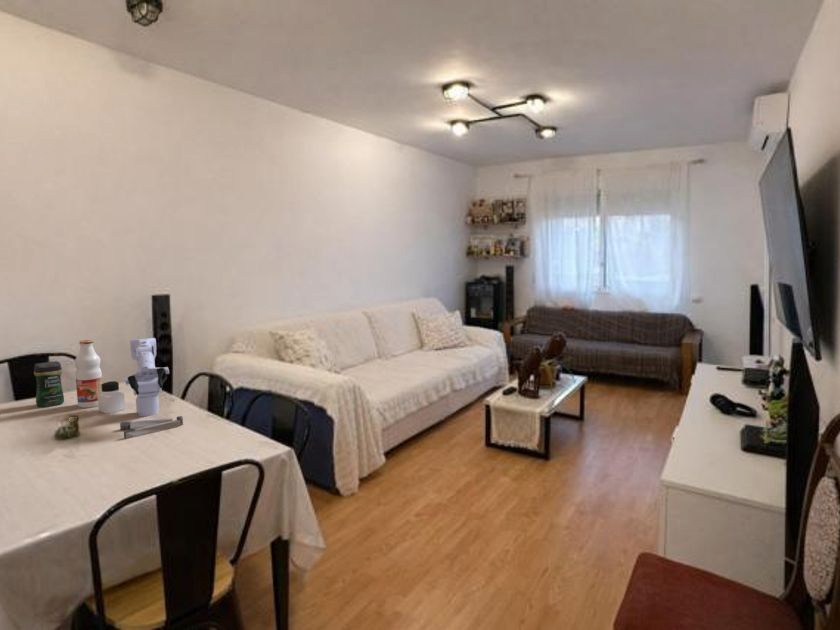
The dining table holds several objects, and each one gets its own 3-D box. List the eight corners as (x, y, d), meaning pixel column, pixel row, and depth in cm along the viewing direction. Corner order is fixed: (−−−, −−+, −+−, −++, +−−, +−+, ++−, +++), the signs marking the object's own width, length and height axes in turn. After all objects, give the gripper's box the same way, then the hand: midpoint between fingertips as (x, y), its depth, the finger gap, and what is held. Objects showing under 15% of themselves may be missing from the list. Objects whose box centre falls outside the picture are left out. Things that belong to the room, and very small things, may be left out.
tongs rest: (108, 434, 179) (107, 422, 178) (172, 420, 194) (172, 409, 194) (123, 447, 166) (122, 435, 166) (191, 431, 182) (190, 419, 181)
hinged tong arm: (173, 424, 185) (172, 418, 185) (172, 425, 184) (172, 419, 183) (121, 428, 180) (121, 422, 180) (120, 430, 179) (120, 423, 179)
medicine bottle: (125, 409, 208) (123, 381, 206) (107, 414, 202) (104, 385, 200) (116, 406, 211) (114, 379, 210) (98, 411, 205) (96, 382, 204)
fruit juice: (109, 403, 217) (104, 339, 213) (87, 409, 208) (82, 343, 205) (94, 400, 220) (89, 338, 217) (72, 406, 211) (67, 341, 208)
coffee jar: (39, 409, 208) (35, 365, 206) (34, 405, 213) (30, 362, 211) (67, 403, 216) (63, 361, 213) (61, 400, 221) (57, 359, 218)
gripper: (121, 364, 184) (122, 386, 174) (164, 353, 190) (167, 374, 180) (127, 379, 188) (128, 401, 178) (169, 368, 194) (172, 389, 184)
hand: (148, 389), depth 179 cm, fingers open, 7 cm apart
